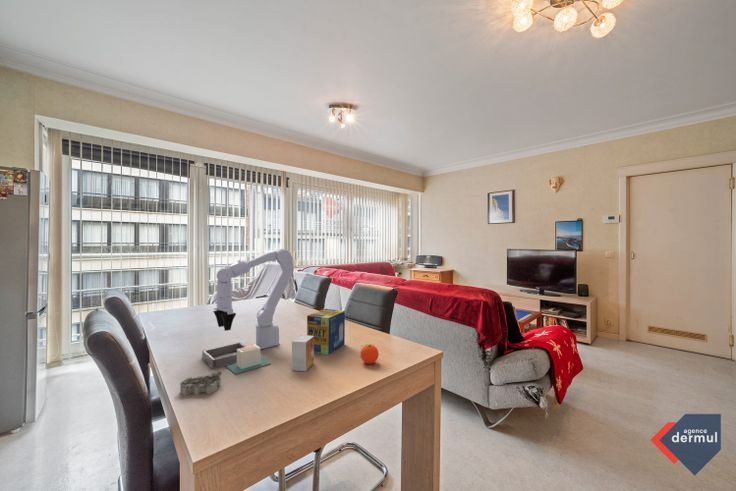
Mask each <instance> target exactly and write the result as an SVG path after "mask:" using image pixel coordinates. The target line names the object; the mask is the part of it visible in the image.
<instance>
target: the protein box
mask: <svg viewBox="0 0 736 491" xmlns="http://www.w3.org/2000/svg"><path fill="white" fill-rule="evenodd" d="M345 317H346V310H341V309H340V310H339V309H331V308H324V309H321V310H319V311H316V312H313V313H311V314H307V316H306V336H314V355H321V356H328V357H329V356H330V355H332V354H333V353H334V352H335V351H337V350H339V349H340V348H341V347H343V346H345V344H346V343H345V338H346V337H345V336H346V335H345V333H346V331H345V328H346V318H345Z"/></svg>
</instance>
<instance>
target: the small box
mask: <svg viewBox="0 0 736 491" xmlns="http://www.w3.org/2000/svg"><path fill="white" fill-rule="evenodd" d="M314 364H315V353H314V336H307V334H305V335H302V334H300V336H298V337H297V338H295V339H294V340H292V341H291V370H292V371H295V372H296V371H298V372H307V371H308V370H309V369H310V368H311V367H312V366H313V365H314Z"/></svg>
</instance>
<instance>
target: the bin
mask: <svg viewBox="0 0 736 491" xmlns="http://www.w3.org/2000/svg"><path fill="white" fill-rule="evenodd" d="M244 347H248V346H247V345H245V343H242V342H235V343H232V344H226V345H221V346H218V347H214V348H213V347H212V348H208V349H203V350H202V351H201V352H202V353H201V354H202V356H201V357H202V359H203V360H204V362H206V363H207V364H208V365H209V366H210V367H211V368H212V369H213V370H214V369H217V368H220V367H224V366H225V367H226V366H228V365H231V364H235V363H237V353H234V354H230V355H227V356H222V357H217V358H215V357H216V356H220V355H224V354H229V353H232V352H237V349H240V348H244Z"/></svg>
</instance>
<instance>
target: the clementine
mask: <svg viewBox="0 0 736 491" xmlns="http://www.w3.org/2000/svg"><path fill="white" fill-rule="evenodd" d="M360 358H361V360H362V361H363V362H364V363H365V364H369V365H370V364H374V363H376V362H377V360H378V358H379V350H378V348H377V347H376V345H374V344H369V343H368V344H367V343H365V344H363V345H361V346H360Z"/></svg>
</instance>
